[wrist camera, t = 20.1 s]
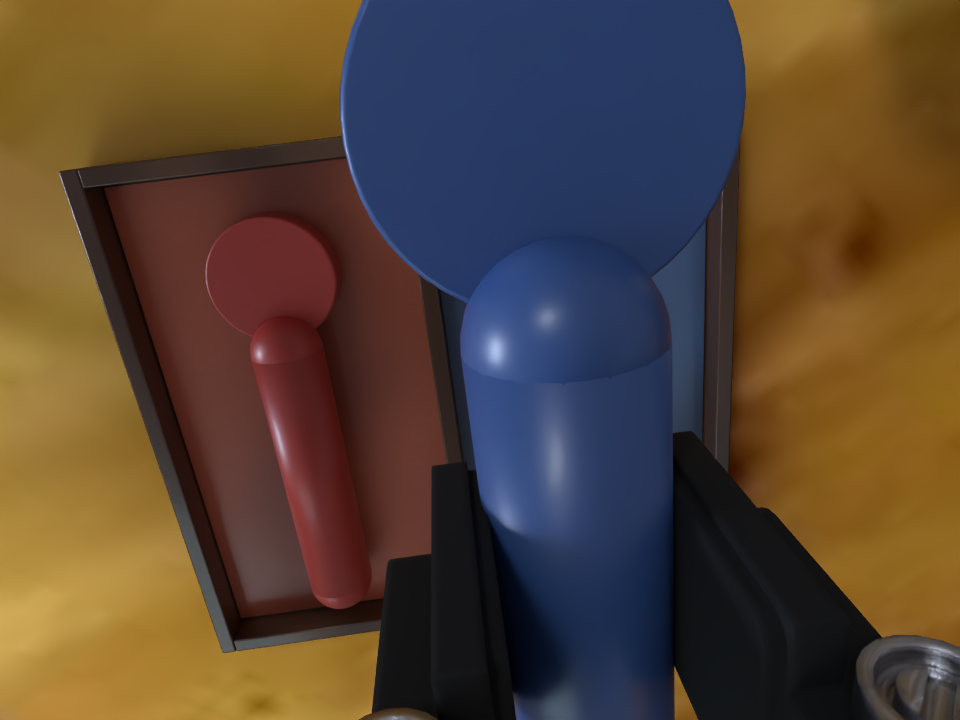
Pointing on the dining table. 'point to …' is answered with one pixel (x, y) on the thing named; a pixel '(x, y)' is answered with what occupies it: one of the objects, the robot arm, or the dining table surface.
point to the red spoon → (296, 385)
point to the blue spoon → (557, 291)
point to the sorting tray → (351, 363)
